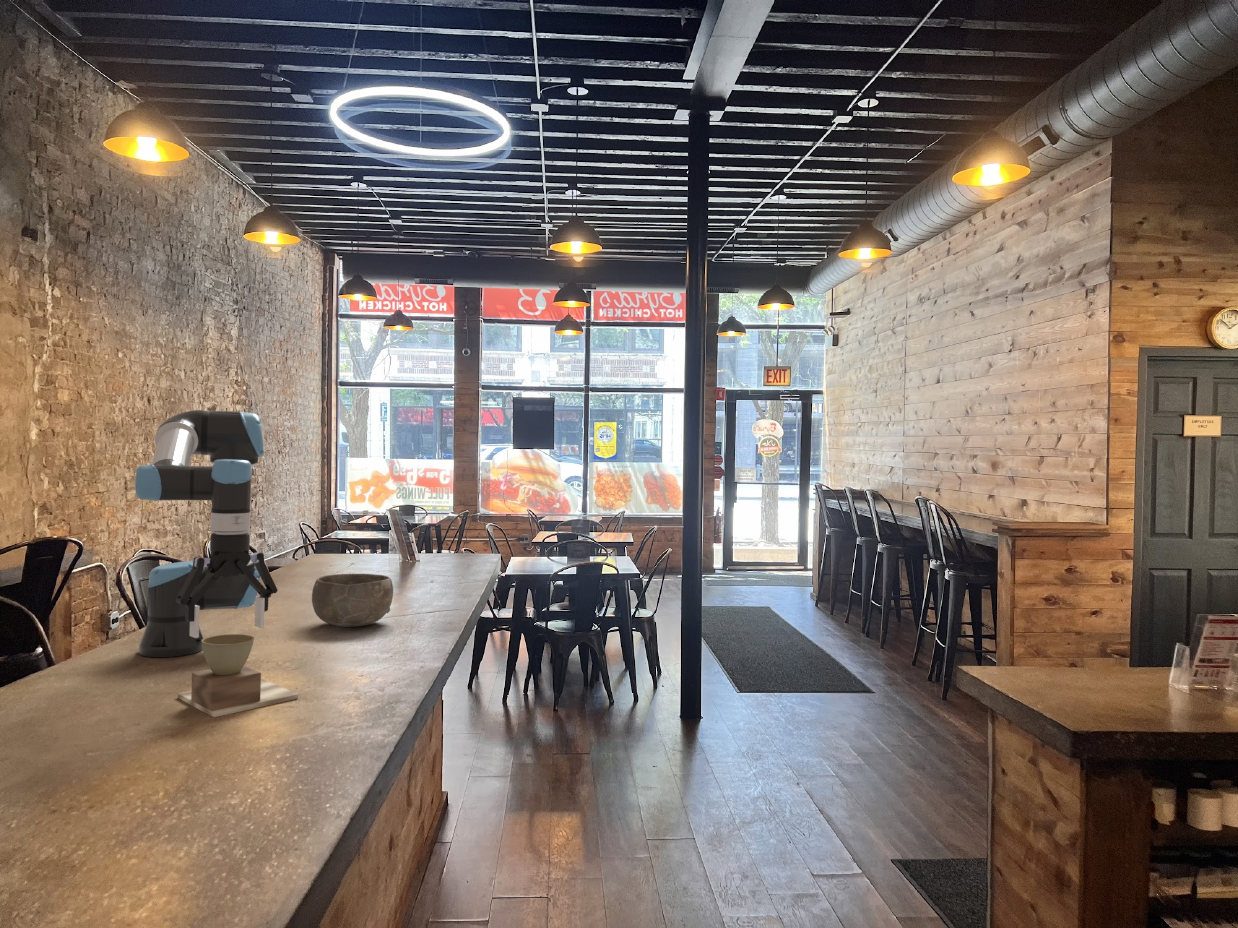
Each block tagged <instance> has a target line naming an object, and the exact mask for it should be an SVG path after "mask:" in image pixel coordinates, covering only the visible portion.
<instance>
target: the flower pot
mask: <svg viewBox="0 0 1238 928" xmlns="http://www.w3.org/2000/svg"><path fill="white" fill-rule="evenodd" d="M203 638H204V639H203V640H202V648H203V650H202V652H203V655H204V659H205V661H206V663H207V665H208V667H209V669H211V670H212V672H213V673H214V674H216V675H232V674H236V673H239V672H240V671H241V669H242V668H243V666H245V664H246V662H247V661H248V659H249V657H250V654H251V652H252V649H253V646H254V639H255V637H254V636H252V635H250V634H244V633H243V634H242V633H241V634H239V633H231V634H230V633H229V634H227V633H226V634H218V635H217V634H216V635H212V636H207V637H203Z"/></svg>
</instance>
